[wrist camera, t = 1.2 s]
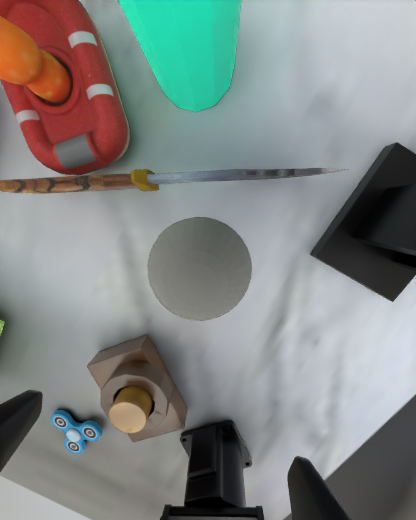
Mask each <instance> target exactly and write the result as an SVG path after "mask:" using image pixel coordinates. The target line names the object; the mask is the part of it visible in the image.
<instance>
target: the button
mask: <svg viewBox="0 0 416 520" xmlns="http://www.w3.org/2000/svg"><path fill="white" fill-rule="evenodd" d="M152 403H153V401H152V397H151V395H150V393H148V392H147V391H145V390H144V389H142V388H141V387H137V386H127V387H125V388H123V389H122V390H121V391H120V392H119V394H118V396H117V398H116V400H115V401H114V403H113V405H112V407H111V409H110V411H109V420H110V422H111V424H112V425H113V426H114V427H115V428H116V429H118V430H120V431H122V432H125V433H135V432H138V431H140V430H141V429H143V428H144V426H145V424H146V422H147V419H148V416H149V413H150V410H151V407H152Z"/></svg>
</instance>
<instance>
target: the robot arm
mask: <svg viewBox="0 0 416 520" xmlns="http://www.w3.org/2000/svg"><path fill="white" fill-rule="evenodd" d="M42 396H43V395H42V392H40V391H36V390H28V391H25V392H23V393H22V394H20V395H18V396H16V397H14V398H12V399H10V400H8V401H6V402H4V403H2V404H0V472H1V471H2V469H3V468H4V466H5V465H6V464H7V462H8V461H9V459H10V458H11V456H12V455H13V453H14V452H15V451H16V449H17V448H18V446H19V445H20V443H21V442H22V441H23V439H24V438H25V436H26V435H27V433H28V432H29V430H30V429H31V428H32V426H33V425H34V423H35V422H36V420H37V419H38V417H39V415H40V413H41V409H42ZM180 441H181V443H182V445H183V447H184V449H185V450H186V452H187V454H188V456H189V464H188V472H187V484H186V492H185V500H184V506H171V505H165V507H164V511H163V514H162V516H161V518H160V520H264V515H263V509H262V506H256V507H246V500H245V489H244V477H243V468H247V467H250V466H251V465H252V461H251V458H250V456H249V453H248V451H247V449H246V447H245V445H244V443H243V441H242V439H241V437H240V434H239V432H238V430H237V428H236V426H235V424H234V422H233V421H225V422H222V423H218V424H214V425H211V426H207V427H203V428H200V429H196V430H192V431H189V432H185V433H182V434H181V437H180ZM288 488H289V495H290V503H291V511H292V519H293V520H351V518H350V517H349V516H348V514H347V513H346V511H345V510H344V508H343V507H342V506H341V504H340V503H339V501H338V500H337V499H336V497H335V496H334V494H333V493H332V492H331V490H330V489H329V487H328V486H327V484H326V483H325V482H324V480H323V479H322V477H321V476H320V474H319V473H318V472H317V470H316V469H315V467H314V466H313V465H312V463H311V462H310V461H309V460H308V459H307V458H303V457H299V456H296V457H295V458H294V460H293V463H292V465H291V467H290V469H289V472H288Z"/></svg>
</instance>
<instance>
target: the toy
mask: <svg viewBox="0 0 416 520" xmlns="http://www.w3.org/2000/svg"><path fill="white" fill-rule="evenodd" d="M51 422H52V424H53V425H54V426H55V427H56V428H58V429H60V430H62V431H63V432H65V434H66V435H67V439H66V440H65V442H64V445H65V447H66V449H67V450H68V451H69V452H71V453H73V454H81V453H82V452H83V450H84V449H85V446H86V445H85V442H84V440H90V441H97V440H98V439H99V438H100V436H101V434H102V429H101V427H100V426H99V425H98V424H97V423H96V422H93V421H85V422H84V423H77V422H75V421H74V420H73V419H72V417H71V416H70V415H69V414H68V413H67V412H65V411H62V410H58V411H56V412H55V413H54V414H53V415H52V416H51Z"/></svg>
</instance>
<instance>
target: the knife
mask: <svg viewBox="0 0 416 520" xmlns="http://www.w3.org/2000/svg"><path fill="white" fill-rule="evenodd" d="M343 170H350V169H329V168H307V169H275V170H249V169H233V170H216V171H199V172H181V173H163V174H155V173H153V172H152V171H150V170H147V169H144V170H134V171H131V174H111V175H89V176H68V177H51V178H38V179H18V180H2V181H0V191H3V192H11V193H32V194H45V193H60V192H80V191H99V190H117V189H134V188H138V189H140V190H141V191H157V190H159V186H158V184H166V183H184V182H205V181H232V180H261V179H277V178H290V177H301V176H311V175H319V174H325V173H331V172H337V171H343Z"/></svg>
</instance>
